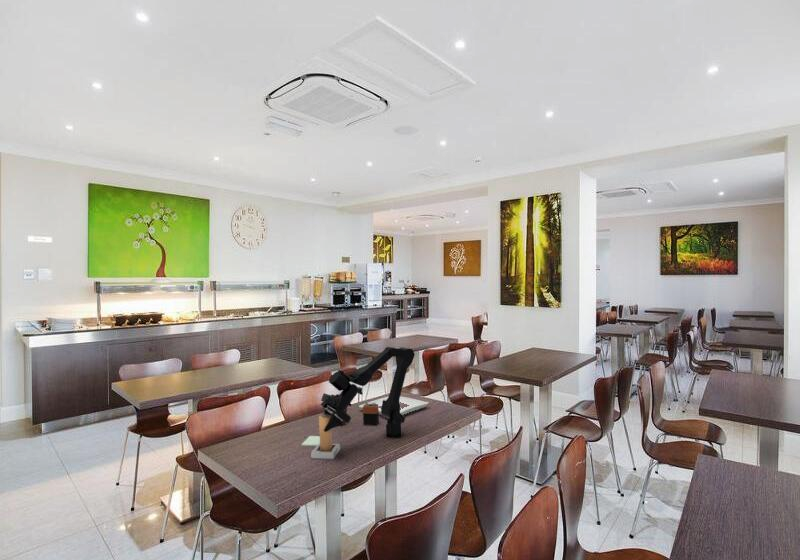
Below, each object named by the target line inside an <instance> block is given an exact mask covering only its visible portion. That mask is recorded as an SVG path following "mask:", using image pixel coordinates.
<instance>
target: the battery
mask: <svg viewBox="0 0 800 560" xmlns="http://www.w3.org/2000/svg"><path fill="white" fill-rule="evenodd" d="M364 404H365V403H364ZM362 416H363V417H362V420H363V425H364V426H378V424H379V423H380V414H379V409H378V404H376V403H372V404H369V403H368V402H366V404H365V405H364V406H363V409H362Z"/></svg>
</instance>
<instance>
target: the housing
mask: <svg viewBox="0 0 800 560" xmlns="http://www.w3.org/2000/svg"><path fill="white" fill-rule="evenodd" d="M340 450H341V444H340V443H332V451H320V443H319V444H318V445H317V446H314V449H313V450H311V453H310V454H311V456H310V457H311V459H324V460H326V459H327V460H334V459H335V458H336V456H337V455H338V453H339V452H340Z"/></svg>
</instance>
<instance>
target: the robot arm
mask: <svg viewBox="0 0 800 560" xmlns="http://www.w3.org/2000/svg"><path fill="white" fill-rule="evenodd" d="M415 355H416V354H415V351H414V350H413V349H412V348H409V347H403V346H402V347H398V348H396V347H392V346H386V347H385V348H384V350H382V351H381V352H380V353H378V355H376V356H375V357H374V358H373V359H372V360H371V361H369V362H368V363H367V364H366V365H364V366H361V367H358V368H357V369H355V370H354V371H353V372H352V373H350V374H346V373H345V371H343V370H342V369H338V370H337V371H336V372H334V373H332V374H331V376H330V377H329V379H328V383H329V384H330V385H331V386H333V387H334V388H335V389H336V390H337V391H340V393H339V394H338V393H337V394H331V395H330V394H328V393H324V392H323V394H322V397H321V398H320V399H321V400H320V402H321V403H320V406H321V407H322V411H323V414H328V415H331V419H330V420H329V422H328V424H327V425H326V427H325V429H324V431H325V432H327V431H328V430H330V429H331V430H332V429H333V428H336V427H337V426H340V425H339V424H341V423H346V424H349V423H350V421H351V419H352V417H351V415H349V414H348V413H346V412H344V411H345V410H346V408H347V409H348V407H352V402H353V400H354V398H355V397H356V396H357V395H358V394H359V395H361V396H362V395H363V387H364V386H366V385H367V384H369V382H370V381H371V379H372V378H373V375H374V374H375V373H376V372H378V371H379V369H381V368H382V366H384V365H385V364H386V363H387V362H388V361H389V360H390V359H392V358H393V357H395V363H396V368H395V370H394V374H393V376H394V377H393V378H392V379H393V380H392V382H391V383H392V384H391V387H390V391H389V395H388V396H387V397H388V399H387V400H386V401H385V400H383V402H382V407H381V408H380V409H381V413H382V415H381V416H382V417H383V418H384V420H385V421H386V424H385V434H386V437H387V438H402V436H403V433H404V431H403V423H404V422H405V420H406V417H405V415H402V414H401V413H400V408H401V407H400V402H399V399H400V396H401V394H402V390H403V387H404V383H405V379H406V374H407V371H408V368H409V367H410V366H411V365H412V364H413V361H414V358H415ZM357 385H358V386H359V387H358V386H357ZM334 413H335V414H334ZM343 420H344V422H343Z"/></svg>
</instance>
